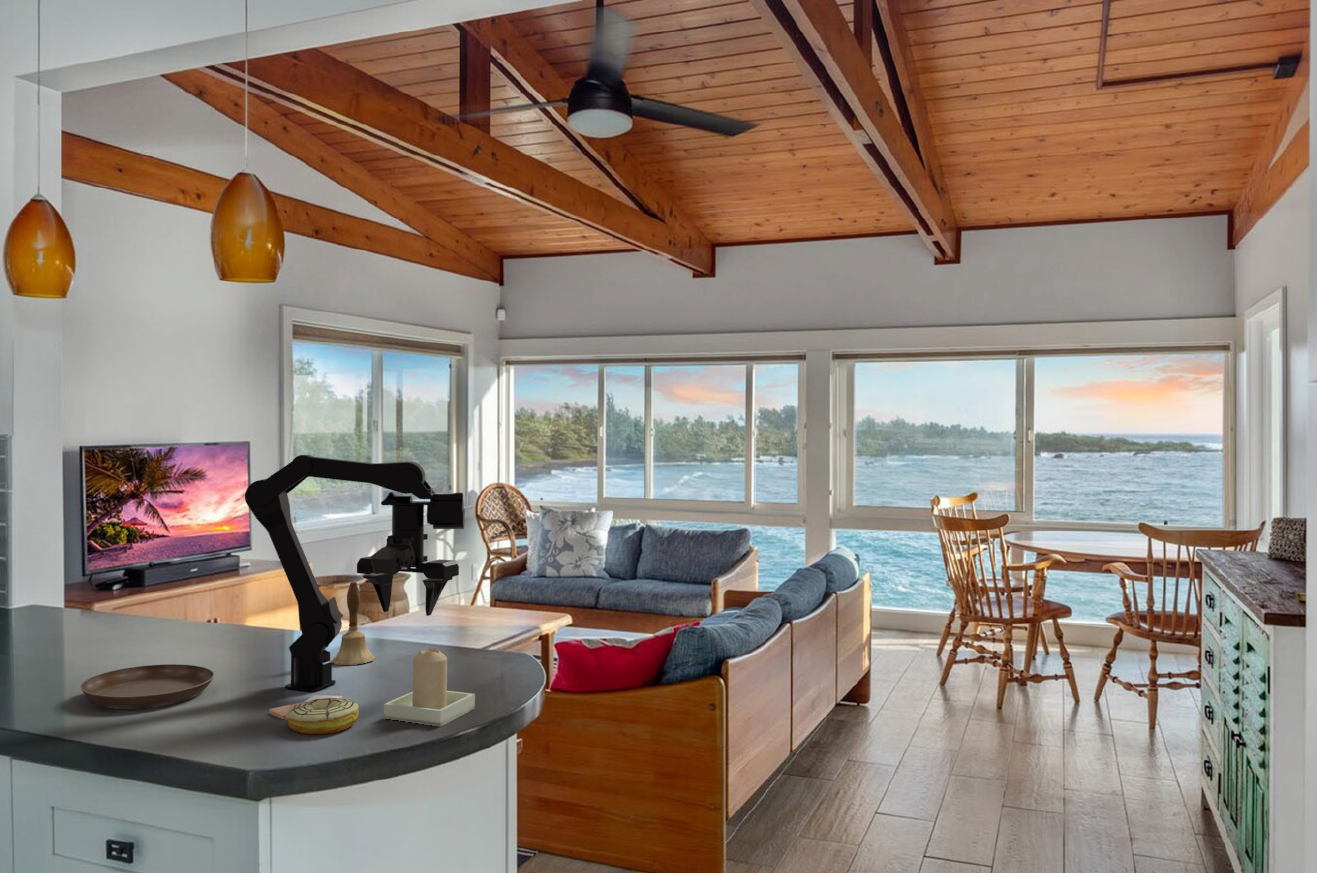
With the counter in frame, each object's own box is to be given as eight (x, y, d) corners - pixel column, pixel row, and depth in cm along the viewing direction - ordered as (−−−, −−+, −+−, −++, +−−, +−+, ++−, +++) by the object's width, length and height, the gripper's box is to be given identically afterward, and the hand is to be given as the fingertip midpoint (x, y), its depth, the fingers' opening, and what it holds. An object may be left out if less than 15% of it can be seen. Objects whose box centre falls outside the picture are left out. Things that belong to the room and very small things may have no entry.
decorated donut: (317, 714, 158) (317, 691, 158) (371, 721, 154) (372, 698, 154) (272, 733, 148) (272, 708, 148) (330, 740, 144) (330, 715, 144)
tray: (383, 719, 154) (384, 704, 154) (420, 702, 164) (421, 687, 164) (440, 726, 151) (440, 711, 151) (474, 708, 161) (474, 694, 161)
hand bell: (322, 663, 191) (323, 584, 191) (350, 654, 199) (351, 578, 198) (356, 667, 188) (357, 587, 188) (383, 658, 195) (384, 581, 195)
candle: (444, 714, 155) (445, 653, 155) (410, 715, 155) (410, 654, 155) (448, 705, 161) (448, 646, 161) (414, 705, 160) (415, 646, 160)
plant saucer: (232, 698, 167) (233, 679, 167) (100, 722, 152) (101, 702, 152) (189, 675, 181) (190, 658, 181) (65, 696, 167) (65, 677, 167)
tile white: (301, 710, 161) (301, 703, 161) (313, 702, 166) (313, 695, 166) (330, 711, 160) (330, 704, 160) (341, 702, 165) (342, 696, 165)
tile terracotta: (269, 716, 157) (269, 709, 157) (298, 710, 161) (298, 703, 161) (282, 723, 154) (282, 715, 154) (312, 716, 157) (312, 709, 157)
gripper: (337, 531, 171) (336, 617, 172) (427, 536, 165) (426, 625, 165) (375, 525, 182) (374, 607, 182) (460, 530, 176) (460, 614, 176)
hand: (407, 613), depth 176 cm, fingers open, 9 cm apart
